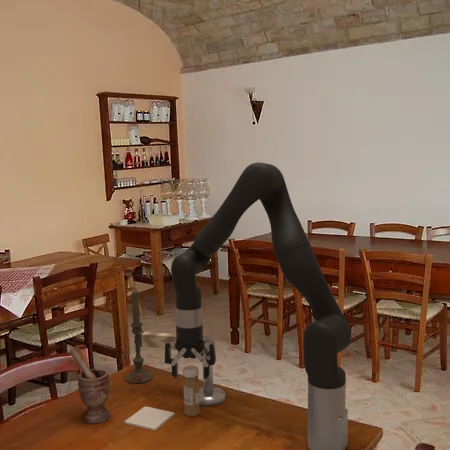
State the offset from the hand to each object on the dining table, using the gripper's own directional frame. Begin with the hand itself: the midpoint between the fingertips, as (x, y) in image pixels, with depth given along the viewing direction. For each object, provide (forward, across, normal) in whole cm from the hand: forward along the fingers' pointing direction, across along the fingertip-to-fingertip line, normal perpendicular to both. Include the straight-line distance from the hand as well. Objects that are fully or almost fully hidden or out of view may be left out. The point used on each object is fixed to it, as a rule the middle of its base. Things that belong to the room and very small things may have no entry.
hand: (190, 377), depth 162 cm
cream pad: (+10, +11, +5) cm, 16 cm away
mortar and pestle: (+11, +28, +5) cm, 31 cm away
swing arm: (-4, +6, -11) cm, 13 cm away
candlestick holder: (+11, +22, -22) cm, 33 cm away
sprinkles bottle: (+11, 0, 0) cm, 11 cm away
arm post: (+10, -4, -9) cm, 14 cm away
